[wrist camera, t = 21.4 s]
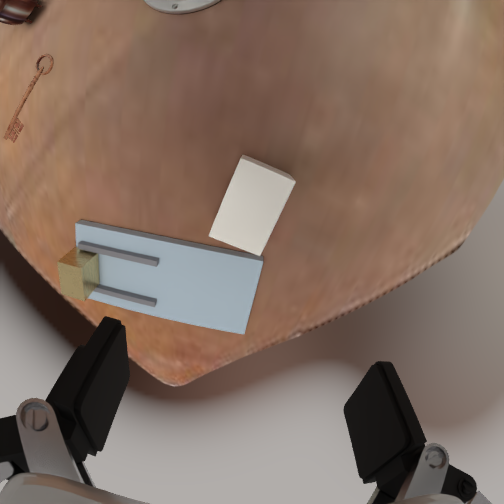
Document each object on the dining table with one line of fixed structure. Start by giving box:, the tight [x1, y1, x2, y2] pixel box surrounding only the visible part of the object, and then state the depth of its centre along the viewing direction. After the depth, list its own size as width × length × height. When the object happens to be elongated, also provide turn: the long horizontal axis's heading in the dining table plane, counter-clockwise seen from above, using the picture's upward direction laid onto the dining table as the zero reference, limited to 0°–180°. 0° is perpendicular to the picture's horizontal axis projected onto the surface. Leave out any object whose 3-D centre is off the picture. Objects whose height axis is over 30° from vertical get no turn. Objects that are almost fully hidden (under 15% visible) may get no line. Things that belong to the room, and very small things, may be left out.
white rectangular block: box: [209, 155, 296, 256], centre depth 31 cm, size 9×6×5 cm, turn 157°
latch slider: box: [57, 247, 100, 301], centre depth 33 cm, size 5×4×5 cm
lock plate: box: [75, 220, 263, 334], centre depth 37 cm, size 12×26×2 cm, turn 78°
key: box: [4, 54, 53, 143], centre depth 27 cm, size 6×1×15 cm
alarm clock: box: [0, 0, 41, 25], centre depth 13 cm, size 11×5×15 cm, turn 45°
